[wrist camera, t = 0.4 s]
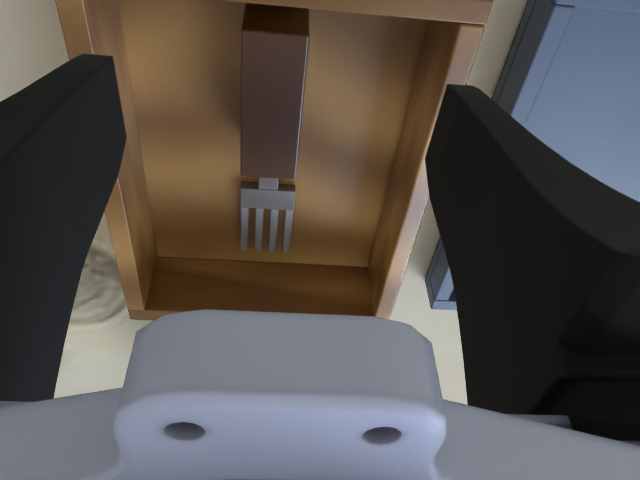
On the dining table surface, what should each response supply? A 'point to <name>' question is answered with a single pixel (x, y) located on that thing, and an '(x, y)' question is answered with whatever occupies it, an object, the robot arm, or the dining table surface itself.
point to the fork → (271, 113)
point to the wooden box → (313, 160)
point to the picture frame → (571, 97)
